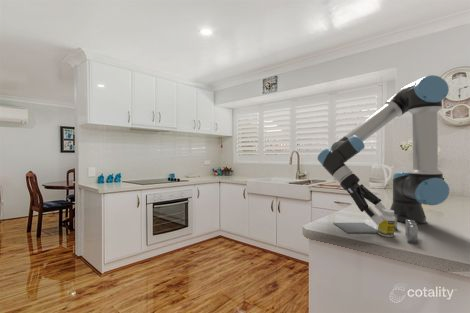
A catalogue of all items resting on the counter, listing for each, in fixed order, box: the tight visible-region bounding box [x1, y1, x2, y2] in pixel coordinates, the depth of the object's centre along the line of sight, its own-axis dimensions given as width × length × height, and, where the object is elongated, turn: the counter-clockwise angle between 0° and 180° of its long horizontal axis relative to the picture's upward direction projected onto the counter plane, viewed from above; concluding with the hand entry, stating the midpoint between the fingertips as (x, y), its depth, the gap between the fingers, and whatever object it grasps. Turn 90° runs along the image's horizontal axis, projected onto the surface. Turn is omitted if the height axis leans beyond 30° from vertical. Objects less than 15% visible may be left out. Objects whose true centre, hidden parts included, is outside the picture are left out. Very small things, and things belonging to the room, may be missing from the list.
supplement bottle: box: [377, 208, 396, 238], centre depth 97 cm, size 5×5×10 cm
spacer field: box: [393, 214, 419, 245], centre depth 98 cm, size 8×20×6 cm, turn 2°
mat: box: [333, 222, 380, 235], centre depth 107 cm, size 14×14×1 cm
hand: (385, 219), depth 98 cm, fingers open, 13 cm apart
